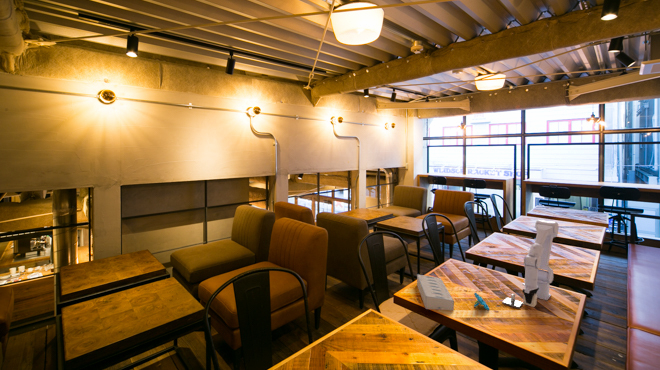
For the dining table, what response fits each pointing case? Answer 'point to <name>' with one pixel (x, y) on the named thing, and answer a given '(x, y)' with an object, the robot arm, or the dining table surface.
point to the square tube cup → (534, 301)
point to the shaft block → (512, 302)
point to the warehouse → (434, 293)
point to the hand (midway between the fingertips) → (530, 301)
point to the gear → (480, 301)
